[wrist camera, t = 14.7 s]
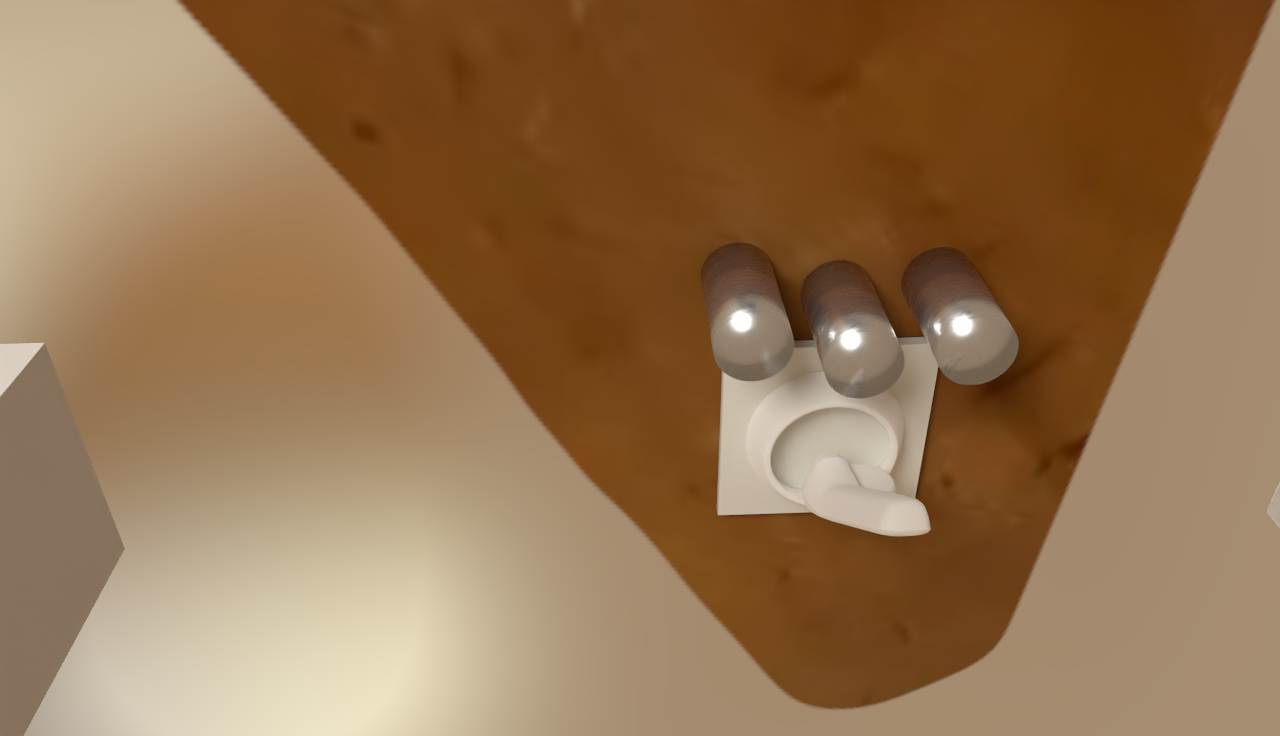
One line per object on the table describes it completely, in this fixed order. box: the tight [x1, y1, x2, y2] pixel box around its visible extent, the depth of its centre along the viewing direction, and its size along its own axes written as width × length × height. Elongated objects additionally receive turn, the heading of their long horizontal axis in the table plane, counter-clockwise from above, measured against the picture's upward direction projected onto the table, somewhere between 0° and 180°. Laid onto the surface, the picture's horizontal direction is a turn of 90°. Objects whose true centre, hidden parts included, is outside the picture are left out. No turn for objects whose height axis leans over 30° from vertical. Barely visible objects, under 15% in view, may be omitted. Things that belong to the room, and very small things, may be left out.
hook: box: [746, 371, 931, 536], centre depth 47 cm, size 8×12×7 cm
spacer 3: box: [901, 247, 1019, 385], centre depth 44 cm, size 3×3×6 cm
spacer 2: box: [801, 260, 905, 398], centre depth 44 cm, size 3×3×6 cm
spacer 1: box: [701, 243, 794, 381], centre depth 44 cm, size 3×3×6 cm
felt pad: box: [717, 337, 938, 515], centre depth 51 cm, size 10×10×1 cm
